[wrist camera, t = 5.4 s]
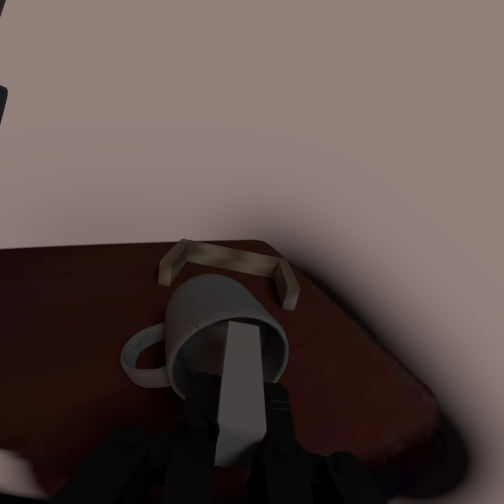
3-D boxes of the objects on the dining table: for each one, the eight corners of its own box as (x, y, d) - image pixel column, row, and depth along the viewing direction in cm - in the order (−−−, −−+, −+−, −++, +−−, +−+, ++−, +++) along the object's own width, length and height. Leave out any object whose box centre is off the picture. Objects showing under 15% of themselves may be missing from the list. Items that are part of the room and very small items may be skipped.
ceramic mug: (240, 342, 25) (257, 265, 23) (274, 405, 18) (305, 315, 16) (124, 339, 21) (124, 254, 19) (121, 412, 14) (110, 310, 12)
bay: (157, 284, 33) (160, 261, 32) (179, 256, 44) (182, 238, 43) (293, 310, 34) (300, 288, 33) (282, 276, 46) (286, 259, 45)
